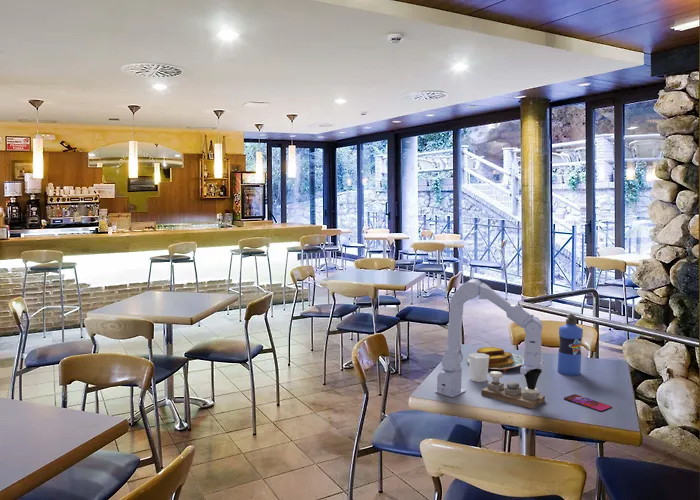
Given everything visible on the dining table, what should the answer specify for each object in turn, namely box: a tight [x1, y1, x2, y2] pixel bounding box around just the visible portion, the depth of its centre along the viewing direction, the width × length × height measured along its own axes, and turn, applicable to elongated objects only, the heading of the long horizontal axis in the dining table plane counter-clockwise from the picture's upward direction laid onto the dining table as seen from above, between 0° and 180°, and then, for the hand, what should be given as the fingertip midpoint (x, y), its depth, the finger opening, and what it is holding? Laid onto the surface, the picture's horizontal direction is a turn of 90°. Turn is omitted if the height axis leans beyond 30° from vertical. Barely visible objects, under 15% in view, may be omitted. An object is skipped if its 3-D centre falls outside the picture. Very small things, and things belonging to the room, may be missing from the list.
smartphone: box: [563, 393, 613, 413], centre depth 201 cm, size 8×1×15 cm
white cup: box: [468, 352, 489, 383], centre depth 226 cm, size 8×8×10 cm
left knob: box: [489, 370, 503, 382], centre depth 210 cm, size 4×4×3 cm
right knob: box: [524, 386, 539, 394], centre depth 201 cm, size 4×4×3 cm
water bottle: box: [557, 313, 584, 377], centre depth 236 cm, size 9×9×25 cm
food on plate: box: [466, 346, 524, 373], centre depth 247 cm, size 25×25×7 cm
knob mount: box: [481, 380, 546, 409], centre depth 206 cm, size 10×20×5 cm, turn 47°
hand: (531, 388), depth 201 cm, fingers closed, pressing on right knob
